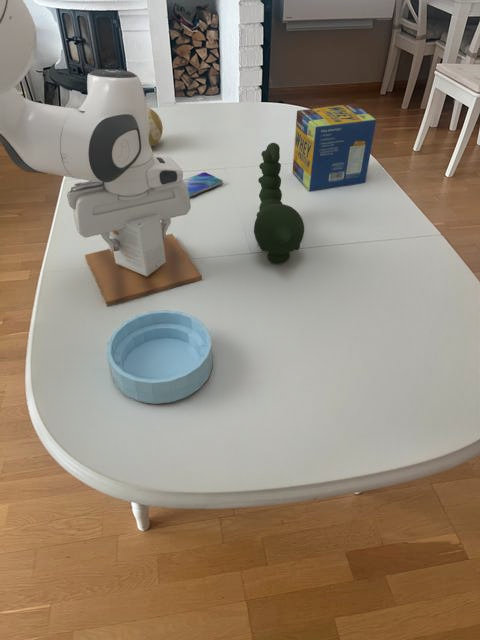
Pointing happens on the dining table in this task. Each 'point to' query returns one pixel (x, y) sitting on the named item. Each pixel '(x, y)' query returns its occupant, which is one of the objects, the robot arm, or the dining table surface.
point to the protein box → (332, 146)
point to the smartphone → (201, 183)
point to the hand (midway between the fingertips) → (138, 244)
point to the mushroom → (154, 127)
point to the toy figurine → (276, 213)
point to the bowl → (160, 356)
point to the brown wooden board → (130, 284)
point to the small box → (140, 245)
